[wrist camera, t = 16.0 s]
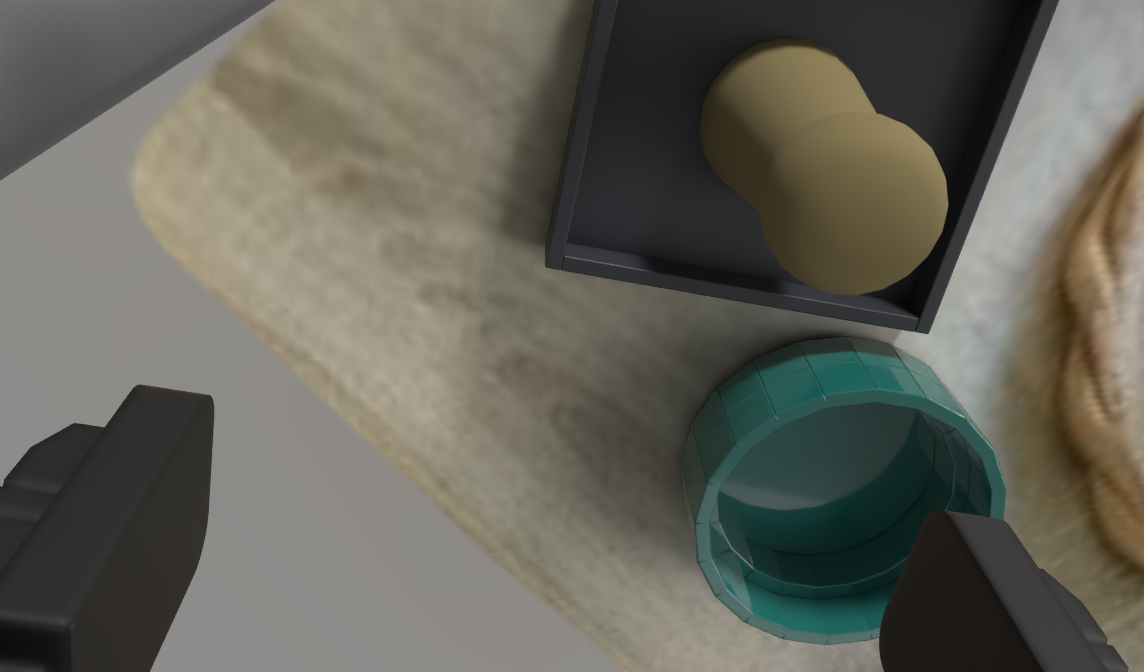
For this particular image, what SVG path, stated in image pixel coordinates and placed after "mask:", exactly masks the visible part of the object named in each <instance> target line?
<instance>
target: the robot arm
mask: <svg viewBox="0 0 1144 672" xmlns="http://www.w3.org/2000/svg"><path fill="white" fill-rule="evenodd" d="M213 427H214V402H213V399H212V397H211V396H210V395H205V394H198V393H192V392H186V391H179V390H172V389H166V388H160V387H153V386H146V385H137V386H135V387H134V388H133V389H132V391H131V392H130V393H129V395H128V396H127V398H126V399H125V400H124V401H123V403H122V404H121V406H120V407H119V408H118V410H117V411H116V413H115V414H114V415H113V417H112V418H111V420H110V421H109V422H108V424H107V425H106V426H105V427H98V426H91V425H85V424H77V423H74V424H72V425H70V426H68V427H66V428H64V429H63V430H61V431H59V432H57V433H55V434H54V435H52V436H50V437H48V438H47V439H45V440H43V441H41V442H39V443H37V444H36V445H34V446H32V447H30V449H29V450H28V451H27V452H26V454H25V455H24V456H23V457H22V458H21V460H20V461H19V462H18V463H17V464H16V466H15V467H14V468H13V469H12V471H11V472H10V473H9V474H8V475H7V477H6V478H5V479H4V484H3V486H2V487H1V486H0V672H150V670H151V668H152V665H153V663H154V661H155V659H156V657H157V655H158V652H159V650H160V648H161V646H162V643H163V641H164V639H165V637H166V635H167V633H168V631H169V628H170V626H171V624H172V622H173V620H174V618H175V615H176V613H177V611H178V609H179V607H180V604H181V602H182V600H183V598H184V596H185V593H186V591H187V589H188V587H189V585H190V583H191V580H192V578H193V576H194V574H195V571H196V569H197V566H198V563H199V560H200V556H201V552H202V549H203V544H204V540H205V535H206V529H207V522H208V513H209V496H210V479H211V462H212V444H213ZM1107 639H1108V638H1107V637H1106V635H1105V634H1104V633H1103V631H1102V630H1101V628H1100V627H1099V626H1098V624H1097V623H1096V621H1095V620H1094V618H1093V617H1092V616H1091V614H1090V613H1089V611H1088V610H1087V609H1086V607H1085V606H1084V604H1083V603H1082V602H1081V601H1080V600H1079V599H1077V598H1076V597H1075V596H1074V595H1073V594H1072V593H1071V592H1069V591H1068V590H1067V589H1066V588H1065V587H1064V586H1062V585H1061V584H1060V583H1059V582H1058V581H1057V580H1055V579H1054V578H1053V577H1052V576H1051V575H1050V574H1048V573H1047V572H1046V571H1045V570H1044V569H1039V568H1038V567H1037V565H1036V564H1035V562H1034V561H1033V559H1032V558H1031V556H1030V555H1029V553H1028V552H1027V550H1026V549H1025V548H1024V546H1023V545H1022V543H1021V542H1020V540H1019V539H1018V537H1017V536H1016V534H1015V533H1014V531H1013V530H1012V528H1011V527H1010V526H1009V525H1008V524H1007V523H1006V522H1005V521H1004V520H1001V519H998V518H991V517H985V516H978V515H972V514H965V513H959V512H952V511H946V510H935V511H933V512H931V513H930V514H929V515H928V516H927V517H926V518H925V520H924V521H923V523H922V525H921V527H920V529H919V531H918V534H917V536H916V538H915V541H914V543H913V545H912V548H911V550H910V552H909V555H908V557H907V559H906V562H905V564H904V566H903V569H902V571H901V574H900V576H899V578H898V581H897V583H896V585H895V588H894V590H893V592H892V595H891V597H890V599H889V602H888V604H887V606H886V609H885V611H884V614H883V617H882V621H881V627H880V636H879V649H880V658H881V663H882V667H883V669H884V672H1128V666H1127V665H1126V664H1125V662H1124V661H1123V659H1122V658H1121V657H1120V655H1119V654H1118V652H1117V651H1116V650H1115V648H1114V647H1113V646H1112V645H1107Z"/></svg>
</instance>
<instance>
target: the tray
mask: <svg viewBox="0 0 1144 672" xmlns="http://www.w3.org/2000/svg"><path fill="white" fill-rule="evenodd" d="M1058 2H1059V0H595V3H594V8H593V13H592V18H591V23H590V28H589V33H588V38H587V43H586V48H585V52H584V57H583V62H582V67H581V72H580V77H579V82H578V87H577V92H576V97H575V102H574V107H573V112H572V116H571V121H570V126H569V131H568V136H567V141H566V146H565V151H564V156H563V161H562V166H561V171H560V176H559V181H558V185H557V190H556V195H555V200H554V205H553V210H552V215H551V220H550V225H549V230H548V235H547V240H546V245H545V267H546V268H552V269H557V270H560V269H561V270H563V271H568V272H574V273H580V274H585V275H591V276H597V277H603V278H608V279H614V280H620V281H626V282H631V283H637V284H643V285H648V286H654V287H660V288H666V289H671V290H677V291H683V292H688V293H694V294H700V295H706V296H711V297H717V298H723V299H729V300H734V301H740V302H746V303H751V304H757V305H763V306H769V307H774V308H780V309H786V310H792V311H797V312H803V313H809V314H814V315H820V316H826V317H832V318H837V319H843V320H849V321H854V322H860V323H866V324H872V325H877V326H883V327H889V328H895V329H900V330H906V331H912V332H914V331H915V332H918V333H924V334H929V332H930V329H931V326H932V324H933V321H934V319H935V316H936V314H937V311H938V309H939V306H940V303H941V301H942V298H943V296H944V293H945V291H946V288H947V286H948V283H949V280H950V278H951V275H952V273H953V270H954V268H955V265H956V263H957V260H958V257H959V255H960V252H961V250H962V247H963V245H964V242H965V240H966V237H967V234H968V232H969V229H970V227H971V224H972V222H973V219H974V217H975V214H976V211H977V209H978V206H979V204H980V201H981V199H982V196H983V194H984V191H985V188H986V186H987V183H988V181H989V178H990V176H991V173H992V171H993V168H994V165H995V163H996V160H997V158H998V155H999V153H1000V150H1001V148H1002V145H1003V142H1004V140H1005V137H1006V135H1007V132H1008V130H1009V127H1010V125H1011V122H1012V119H1013V117H1014V114H1015V112H1016V109H1017V107H1018V104H1019V102H1020V99H1021V97H1022V94H1023V91H1024V89H1025V86H1026V84H1027V81H1028V79H1029V76H1030V74H1031V71H1032V68H1033V66H1034V63H1035V61H1036V58H1037V56H1038V53H1039V51H1040V48H1041V45H1042V43H1043V40H1044V38H1045V35H1046V33H1047V30H1048V28H1049V25H1050V22H1051V20H1052V17H1053V15H1054V12H1055V10H1056V7H1057V5H1058ZM780 38H790V39H805V40H810V41H812V42H815V43H817V44H819V45H822V46H824V47H826V48H829V49H831V50H832V51H834V52H835V53H836V54H837V55H838V56H839V57H840V58H841V59H842V60H843V61H844V62H845V63H846V64H847V65H848V66H849V67H850V68H851V70H852V71H853V73H854V75H855V77H856V78H857V80H858V82H859V84H860V85H861V87H862V89H863V91H864V92H865V94H866V96H867V98H868V99H869V101H870V103H871V105H872V106H873V108H874V110H875V111H876V113H877V114H881V115H884V116H886V117H888V118H891V119H893V120H896V121H898V122H900V123H903V124H905V125H907V126H908V127H909V128H911V129H912V130H913V131H914V132H915V133H916V134H917V135H919V136H920V137H921V138H922V139H923V140H924V141H925V142H926V143H927V144H928V145H929V146H930V147H931V148H932V149H933V151H934V153H935V155H936V157H937V160H938V162H939V164H940V166H941V168H942V170H943V172H944V175H945V178H946V185H947V196H948V210H947V214H946V218H945V222H944V226H943V231H942V233H941V235H940V237H939V238H938V240H937V242H936V243H935V245H934V247H933V249H932V250H931V252H930V254H929V255H928V257H927V258H926V259H924V260H923V261H922V262H921V263H920V264H919V265H918V266H917V267H916V268H915V269H914V270H913V271H912V272H911V273H910V274H909V275H908V276H906V277H904V278H902V279H901V280H899V281H897V282H895V283H893V284H891V285H890V286H888V287H886V288H884V289H881V290H877V291H873V292H869V293H864V294H860V295H840V294H829V293H826V292H824V291H821V290H818V289H816V288H813V287H810V286H808V285H806V284H804V283H802V282H800V281H799V280H797V279H796V278H795V277H794V276H793V275H791V274H790V273H789V272H788V271H787V270H785V269H784V268H783V267H782V266H781V265H780V264H779V263H778V261H777V259H776V257H775V256H774V254H773V252H772V250H771V249H770V247H769V245H768V244H767V242H766V240H765V238H764V236H763V231H762V225H761V220H760V214H759V211H758V210H757V209H756V208H755V207H753V206H752V205H751V204H750V203H749V202H747V201H746V200H745V199H744V198H743V197H741V196H740V195H739V194H738V193H737V192H735V191H734V190H733V189H732V188H731V187H729V186H728V185H727V184H726V183H725V182H724V181H722V180H721V179H720V178H719V177H718V176H716V174H715V172H714V171H713V169H712V167H711V165H710V164H709V162H708V160H707V159H706V157H705V155H704V151H703V146H702V141H701V136H700V131H699V129H700V121H701V113H702V105H703V102H704V100H705V98H706V96H707V94H708V91H709V89H710V87H711V85H712V83H713V80H714V79H715V78H716V77H717V76H718V75H719V73H720V72H721V71H722V70H723V69H724V68H725V67H726V66H727V64H728V63H729V62H730V61H731V60H732V59H733V58H735V57H737V56H738V55H740V54H741V53H743V52H745V51H746V50H748V49H749V48H751V47H753V46H754V45H757V44H761V43H764V42H768V41H772V40H776V39H780Z"/></svg>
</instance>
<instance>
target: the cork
mask: <svg viewBox="0 0 1144 672" xmlns="http://www.w3.org/2000/svg"><path fill="white" fill-rule="evenodd" d="M699 131H700V136H701V141H702V146H703V151H704V155H705V157H706V159H707V160H708V162H709V164H710V165H711V167H712V169H713V171H714V172H715V174H716V176H718V177H719V178H720V179H721V180H722V181H724V182H725V183H726V184H727V185H728V186H729V187H731V188H732V189H733V190H734V191H735V192H737V193H738V194H739V195H740V196H741V197H743V198H744V199H745V200H746V201H747V202H749V203H750V204H751V205H752V206H753V207H755V208H756V209H757V210H758V211H759V214H760V220H761V225H762V231H763V236H764V238H765V240H766V242H767V244H768V245H769V247H770V249H771V250H772V252H773V254H774V256H775V257H776V259H777V261H778V263H779V264H780V265H781V266H782V267H783V268H784V269H785V270H787V271H788V272H789V273H790V274H791V275H793V276H794V277H795V278H796V279H797V280H799V281H800V282H802V283H804V284H806V285H808V286H810V287H813V288H816V289H818V290H821V291H824V292H826V293H829V294H840V295H860V294H864V293H869V292H873V291H877V290H881V289H884V288H886V287H888V286H890V285H891V284H893V283H895V282H897V281H899V280H901V279H902V278H904V277H906V276H908V275H909V274H910V273H911V272H912V271H913V270H914V269H915V268H916V267H917V266H918V265H919V264H920V263H921V262H922V261H923V260H924V259H926V258H927V257H928V255H929V254H930V252H931V250H932V249H933V247H934V245H935V243H936V242H937V240H938V238H939V237H940V235H941V233H942V231H943V226H944V222H945V218H946V214H947V210H948V196H947V185H946V178H945V175H944V172H943V170H942V168H941V166H940V164H939V162H938V160H937V157H936V155H935V153H934V151H933V149H932V148H931V147H930V146H929V145H928V144H927V143H926V142H925V141H924V140H923V139H922V138H921V137H920V136H919V135H917V134H916V133H915V132H914V131H913V130H912V129H911V128H909V127H908V126H907V125H905V124H903V123H900V122H898V121H896V120H893V119H891V118H888V117H886V116H884V115H881V114H877V113H876V111H875V110H874V108H873V106H872V105H871V103H870V101H869V99H868V98H867V96H866V94H865V92H864V91H863V89H862V87H861V85H860V84H859V82H858V80H857V78H856V77H855V75H854V73H853V71H852V70H851V68H850V67H849V66H848V65H847V64H846V63H845V62H844V61H843V60H842V59H841V58H840V57H839V56H838V55H837V54H836V53H835V52H834V51H832V50H831V49H829V48H826V47H824V46H822V45H819V44H817V43H815V42H812V41H810V40H805V39H790V38H780V39H776V40H772V41H768V42H764V43H761V44H757V45H754V46H753V47H751V48H749V49H748V50H746V51H745V52H743V53H741V54H740V55H738V56H737V57H735V58H733V59H732V60H731V61H730V62H729V63H728V64H727V66H726V67H725V68H724V69H723V70H722V71H721V72H720V73H719V75H718V76H717V77H716V78H715V79H714V80H713V83H712V85H711V87H710V89H709V91H708V94H707V96H706V98H705V100H704V102H703V105H702V113H701V121H700V129H699Z"/></svg>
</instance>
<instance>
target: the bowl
mask: <svg viewBox="0 0 1144 672" xmlns="http://www.w3.org/2000/svg"><path fill="white" fill-rule="evenodd" d="M680 465H681V477H682V490H683V499H684V504H685V509H686V513H687V518H688V522H689V527H690V531H691V535H692V540H693V545H694V549H695V554H696V558H697V562H698V564H699V566H700V568H701V570H702V572H703V574H704V576H705V578H706V580H707V582H708V584H709V586H710V588H711V590H712V592H713V594H714V595H715V596H716V597H717V598H718V599H719V600H720V601H721V602H722V603H723V604H724V605H726V606H727V607H728V608H729V609H730V610H731V611H732V612H733V613H734V614H736V615H737V616H738V617H739V618H740V619H741V620H742V621H744V622H745V623H747V624H749V625H752V626H754V627H756V628H758V629H761V630H763V631H765V632H768V633H770V634H772V635H774V636H777V637H779V638H783V639H785V640H792V641H800V642H807V643H814V644H822V645H826V644H827V645H831V644H840V643H849V642H858V641H867V640H872V639H876V638H879V636H880V627H881V621H882V617H883V614H884V611H885V609H886V606H887V604H888V602H889V599H890V597H891V595H892V592H893V590H894V588H895V585H896V583H897V581H898V578H899V576H900V574H901V571H902V569H903V566H904V564H905V562H906V559H907V557H908V555H909V552H910V550H911V548H912V545H913V543H914V541H915V538H916V536H917V534H918V531H919V529H920V527H921V525H922V523H923V521H924V520H925V518H926V517H927V516H928V515H929V514H930V513H931V512H933V511H935V510H946V511H952V512H959V513H965V514H972V515H978V516H985V517H991V518H998V519H1001V520H1004V510H1005V499H1006V484H1005V481H1004V478H1003V475H1002V471H1001V468H1000V465H999V462H998V459H997V456H996V453H995V450H994V449H993V447H992V445H991V444H990V443H989V441H988V440H987V439H986V437H985V436H984V435H983V433H982V432H981V430H980V429H979V428H978V426H977V425H976V424H975V422H974V421H973V420H972V419H971V417H970V416H969V414H968V413H967V412H966V410H965V409H964V408H963V406H962V405H961V404H960V402H959V401H958V399H957V398H956V397H955V395H954V394H953V393H952V392H951V390H950V389H949V388H948V387H947V386H946V385H945V384H944V382H943V381H942V380H941V379H940V378H939V377H938V375H937V374H936V373H935V372H934V371H933V370H932V369H931V367H930V366H928V365H927V364H926V363H924V362H922V361H921V360H919V359H917V358H915V357H913V356H911V355H909V354H907V353H906V352H904V351H902V350H900V349H898V348H896V347H894V346H892V345H889V344H886V343H880V342H874V341H868V340H862V339H857V338H851V337H835V338H826V339H817V340H809V341H800V342H798V343H797V342H796V343H793V344H791V345H788V346H786V347H783V348H781V349H779V350H776V351H774V352H771V353H769V354H766V355H764V356H761V357H759V358H757V359H754V361H752V362H750V363H749V364H748V365H746V366H745V367H744V368H743V369H741V370H740V371H739V372H737V373H736V374H735V375H734V376H732V377H731V378H730V379H728V380H727V381H726V382H725V383H723V384H722V385H721V386H719V387H718V389H716V390H715V391H714V393H713V394H712V396H711V397H710V398H709V400H708V401H707V403H706V404H705V405H704V407H703V408H702V410H701V411H700V413H699V414H698V415H697V417H696V418H695V420H694V421H693V422H692V425H691V428H690V431H689V434H688V438H687V441H686V445H685V448H684V452H683V455H682V458H681V463H680Z"/></svg>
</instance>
